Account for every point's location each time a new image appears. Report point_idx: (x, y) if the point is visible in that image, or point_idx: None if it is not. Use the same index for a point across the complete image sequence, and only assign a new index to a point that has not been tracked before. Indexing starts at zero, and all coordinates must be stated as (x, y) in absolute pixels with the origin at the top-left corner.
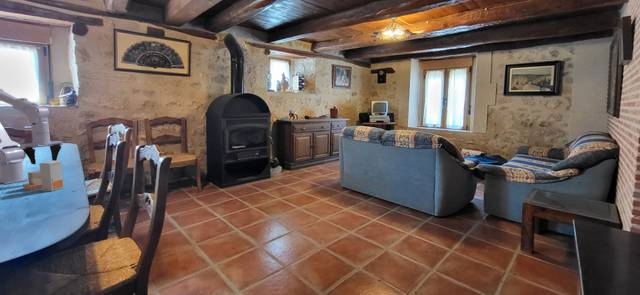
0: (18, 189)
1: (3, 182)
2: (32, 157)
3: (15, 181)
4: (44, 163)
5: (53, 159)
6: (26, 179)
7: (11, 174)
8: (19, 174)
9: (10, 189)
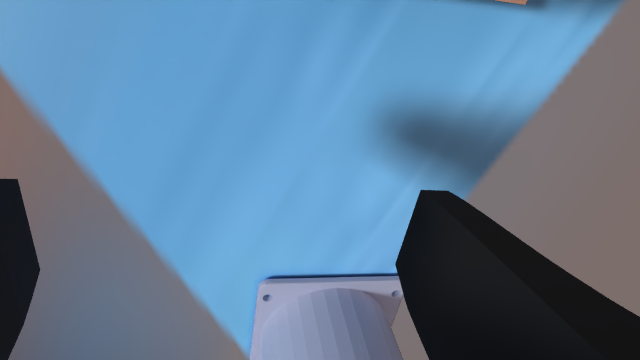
0: (522, 8)
1: (396, 309)
2: (586, 292)
3: (349, 283)
4: None
5: (10, 261)
6: (272, 290)
7: (380, 345)
8: (324, 337)
9: (527, 80)
